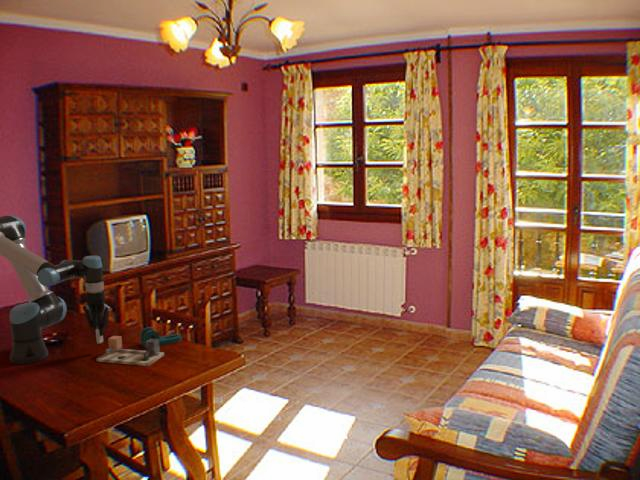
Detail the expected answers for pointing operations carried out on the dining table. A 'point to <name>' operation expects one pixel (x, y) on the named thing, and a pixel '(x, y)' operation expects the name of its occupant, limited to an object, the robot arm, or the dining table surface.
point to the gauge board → (134, 355)
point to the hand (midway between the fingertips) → (100, 342)
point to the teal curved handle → (163, 340)
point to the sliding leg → (114, 343)
